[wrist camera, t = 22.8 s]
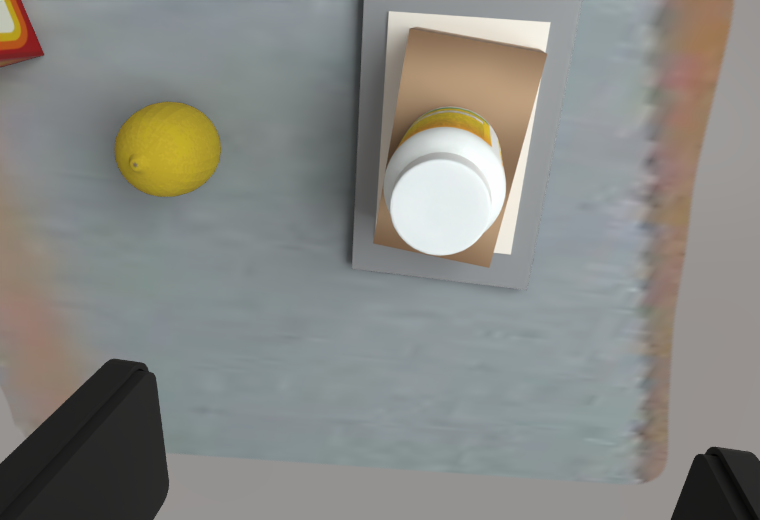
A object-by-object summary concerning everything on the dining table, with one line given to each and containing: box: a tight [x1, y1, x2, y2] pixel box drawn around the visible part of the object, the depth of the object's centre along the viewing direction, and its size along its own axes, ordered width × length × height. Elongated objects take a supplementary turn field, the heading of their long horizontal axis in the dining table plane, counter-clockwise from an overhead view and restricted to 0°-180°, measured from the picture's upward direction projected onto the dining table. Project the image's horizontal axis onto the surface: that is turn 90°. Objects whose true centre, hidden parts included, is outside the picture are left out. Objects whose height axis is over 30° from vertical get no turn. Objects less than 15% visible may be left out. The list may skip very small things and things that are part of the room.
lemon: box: [115, 102, 221, 197], centre depth 34 cm, size 6×6×8 cm
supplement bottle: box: [384, 107, 506, 256], centre depth 26 cm, size 5×5×10 cm
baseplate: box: [352, 0, 583, 290], centre depth 35 cm, size 19×12×1 cm, turn 176°
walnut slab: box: [373, 27, 547, 268], centre depth 33 cm, size 12×7×4 cm, turn 171°
